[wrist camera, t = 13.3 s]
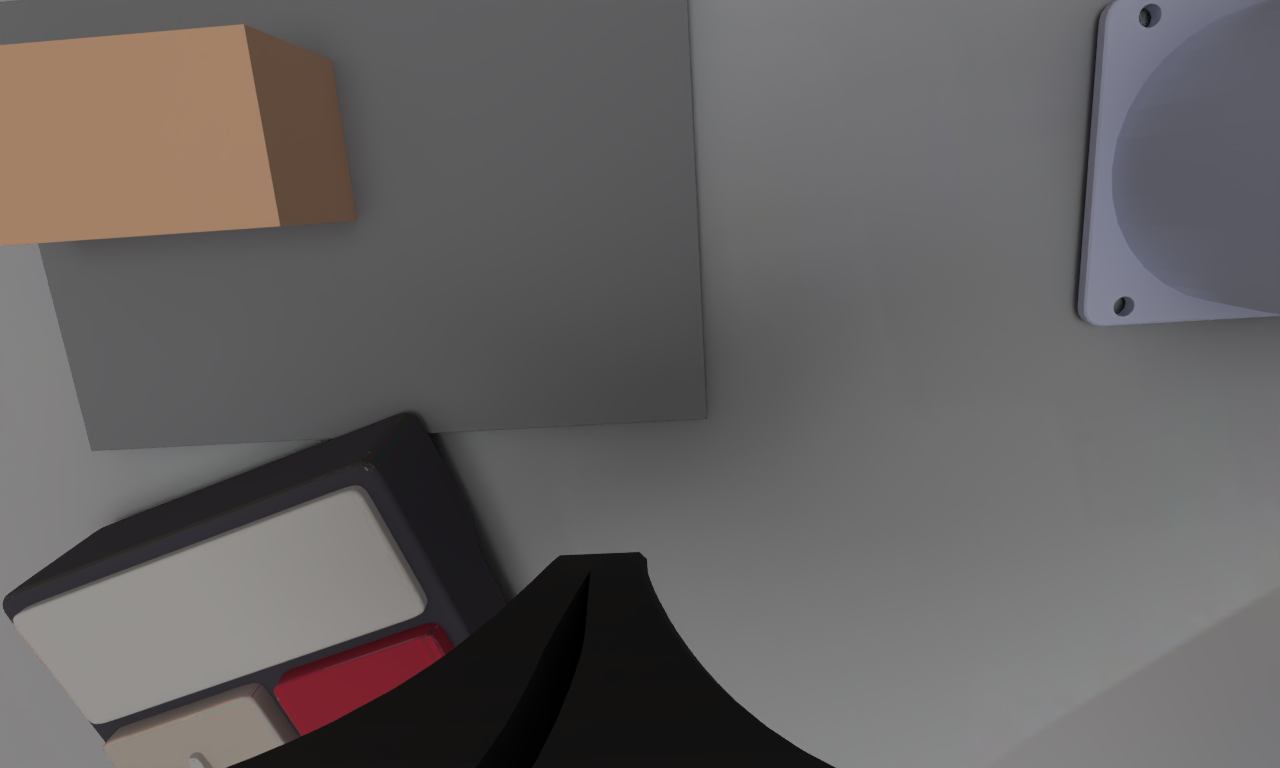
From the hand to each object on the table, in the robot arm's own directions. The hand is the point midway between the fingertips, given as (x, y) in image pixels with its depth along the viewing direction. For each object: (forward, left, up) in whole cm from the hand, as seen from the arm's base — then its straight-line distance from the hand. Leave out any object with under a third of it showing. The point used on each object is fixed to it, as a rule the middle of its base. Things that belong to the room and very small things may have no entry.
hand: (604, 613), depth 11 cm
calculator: (+9, +8, -10) cm, 16 cm away
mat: (+7, -6, -10) cm, 14 cm away
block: (+7, -8, -8) cm, 13 cm away
